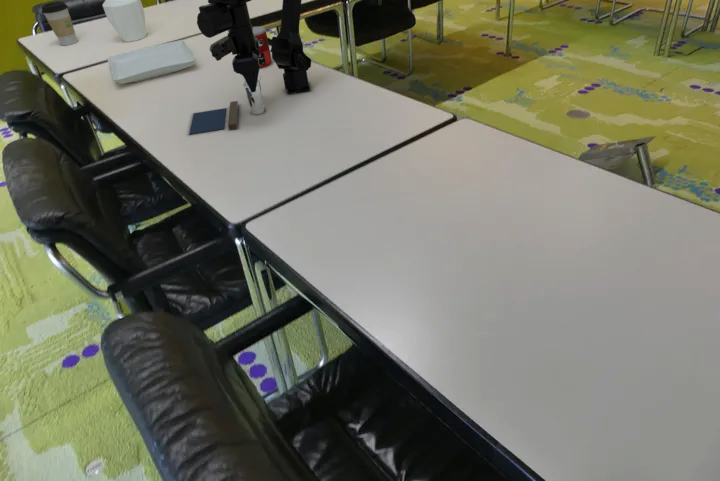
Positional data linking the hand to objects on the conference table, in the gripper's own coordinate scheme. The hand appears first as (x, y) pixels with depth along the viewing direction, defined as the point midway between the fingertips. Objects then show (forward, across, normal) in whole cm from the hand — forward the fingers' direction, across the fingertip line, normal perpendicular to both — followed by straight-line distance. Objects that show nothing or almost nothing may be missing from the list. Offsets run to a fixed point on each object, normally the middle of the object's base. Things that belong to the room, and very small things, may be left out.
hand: (253, 85), depth 140 cm
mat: (+8, +1, -14) cm, 16 cm away
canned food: (+8, -38, 0) cm, 39 cm away
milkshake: (+8, 0, 0) cm, 8 cm away
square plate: (+8, -51, -37) cm, 63 cm away
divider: (+8, +1, -7) cm, 10 cm away
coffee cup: (+8, -100, -79) cm, 127 cm away
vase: (+8, -92, -51) cm, 105 cm away
